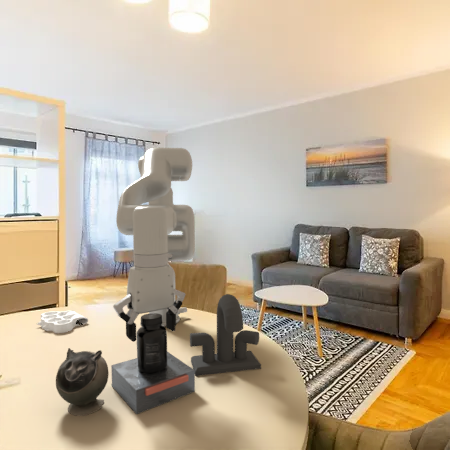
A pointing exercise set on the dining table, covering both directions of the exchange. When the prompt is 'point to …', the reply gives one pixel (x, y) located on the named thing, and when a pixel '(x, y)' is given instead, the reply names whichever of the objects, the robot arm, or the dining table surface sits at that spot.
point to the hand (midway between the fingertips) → (152, 334)
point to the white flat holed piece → (61, 321)
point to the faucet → (225, 342)
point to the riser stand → (152, 383)
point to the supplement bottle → (151, 344)
